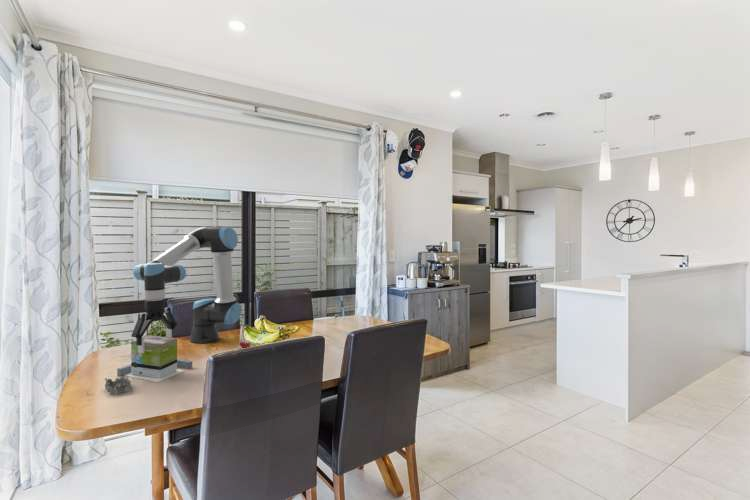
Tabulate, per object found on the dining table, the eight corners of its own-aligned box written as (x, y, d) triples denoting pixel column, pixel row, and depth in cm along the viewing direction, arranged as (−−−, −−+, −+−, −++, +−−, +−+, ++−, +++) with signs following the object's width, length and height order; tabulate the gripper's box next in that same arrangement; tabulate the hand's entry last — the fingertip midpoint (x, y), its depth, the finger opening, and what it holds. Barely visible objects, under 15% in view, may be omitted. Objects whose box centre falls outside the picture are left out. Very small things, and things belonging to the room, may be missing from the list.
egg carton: (104, 388, 148) (103, 377, 148) (126, 383, 153) (126, 373, 153) (108, 397, 140) (108, 386, 140) (132, 391, 146) (132, 381, 145)
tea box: (130, 375, 160) (130, 340, 160) (149, 367, 170) (149, 334, 169) (160, 378, 157) (160, 343, 156) (178, 370, 167) (178, 337, 166)
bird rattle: (236, 371, 174) (254, 363, 175) (226, 349, 173) (245, 341, 174) (240, 366, 180) (257, 359, 181) (230, 345, 180) (248, 337, 180)
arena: (157, 361, 179) (157, 355, 178) (193, 367, 171) (193, 361, 171) (117, 375, 160) (117, 368, 160) (155, 383, 153) (155, 376, 153)
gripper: (172, 293, 175) (173, 338, 177) (120, 303, 152) (121, 355, 153) (185, 295, 173) (185, 340, 174) (134, 305, 149) (135, 358, 151)
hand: (155, 347), depth 164 cm, fingers open, 13 cm apart
